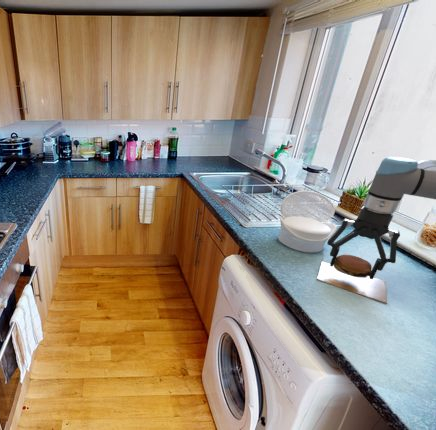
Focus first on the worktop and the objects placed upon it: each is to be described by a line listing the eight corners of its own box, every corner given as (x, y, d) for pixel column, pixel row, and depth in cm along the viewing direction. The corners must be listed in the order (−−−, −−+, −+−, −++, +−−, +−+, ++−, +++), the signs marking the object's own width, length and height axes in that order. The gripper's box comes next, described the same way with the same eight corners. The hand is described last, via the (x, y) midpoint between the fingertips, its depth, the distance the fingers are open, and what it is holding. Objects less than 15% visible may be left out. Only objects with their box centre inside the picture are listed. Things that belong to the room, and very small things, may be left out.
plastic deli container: (277, 249, 114) (291, 202, 106) (269, 227, 131) (281, 186, 123) (335, 258, 108) (354, 210, 100) (319, 235, 126) (334, 192, 117)
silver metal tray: (384, 281, 96) (385, 280, 96) (386, 304, 86) (387, 303, 86) (321, 262, 106) (321, 261, 106) (316, 279, 96) (316, 278, 96)
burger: (326, 262, 100) (331, 251, 98) (352, 263, 100) (358, 251, 98) (347, 280, 91) (352, 268, 89) (376, 281, 91) (382, 268, 89)
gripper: (331, 203, 90) (309, 262, 99) (432, 225, 77) (396, 290, 86) (333, 197, 95) (312, 253, 104) (428, 216, 82) (394, 279, 91)
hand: (350, 270), depth 95 cm, fingers closed on burger, 10 cm apart
